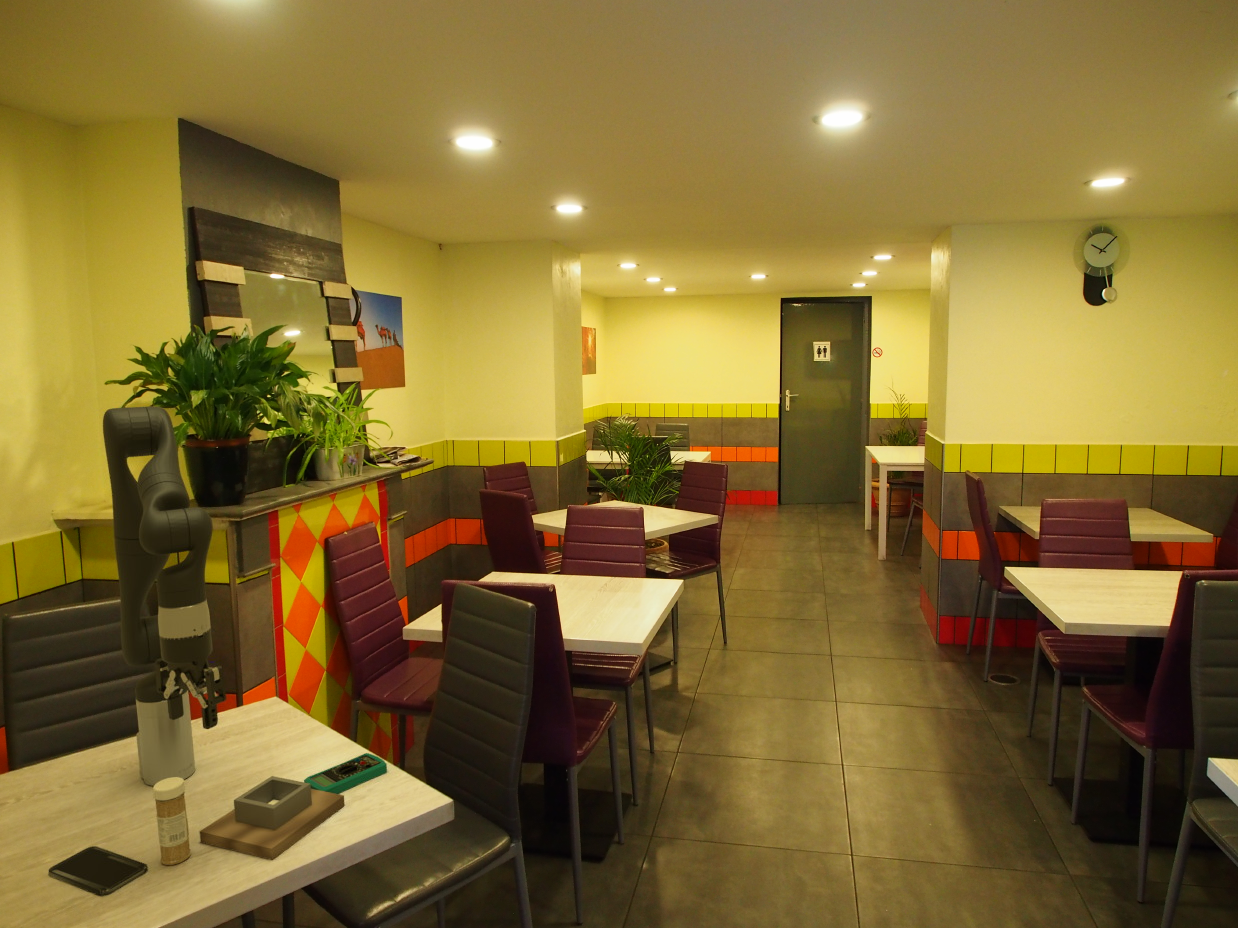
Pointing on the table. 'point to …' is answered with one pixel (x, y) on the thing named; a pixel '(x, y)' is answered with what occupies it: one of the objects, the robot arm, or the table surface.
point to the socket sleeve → (269, 816)
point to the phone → (98, 870)
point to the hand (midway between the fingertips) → (193, 722)
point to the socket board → (267, 840)
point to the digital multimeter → (348, 774)
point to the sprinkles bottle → (172, 820)
